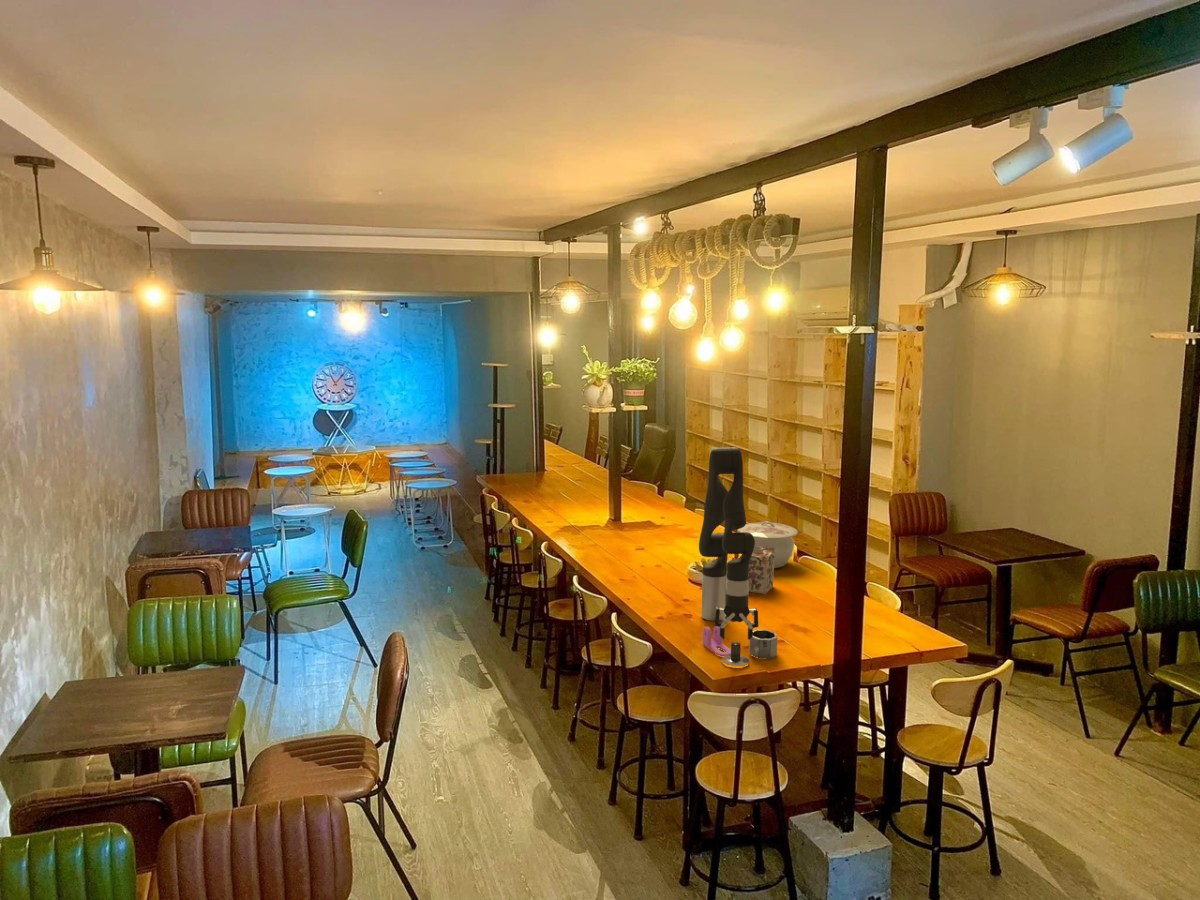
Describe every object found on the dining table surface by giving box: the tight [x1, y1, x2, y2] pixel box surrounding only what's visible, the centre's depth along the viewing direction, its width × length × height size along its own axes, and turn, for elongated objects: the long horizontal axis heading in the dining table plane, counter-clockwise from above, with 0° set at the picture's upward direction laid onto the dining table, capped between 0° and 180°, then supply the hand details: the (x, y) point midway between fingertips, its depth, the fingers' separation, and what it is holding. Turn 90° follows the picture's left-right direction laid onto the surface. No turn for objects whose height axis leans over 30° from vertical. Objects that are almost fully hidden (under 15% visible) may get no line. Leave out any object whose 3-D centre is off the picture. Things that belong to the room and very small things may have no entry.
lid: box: [721, 641, 750, 666], centre depth 277 cm, size 9×9×7 cm
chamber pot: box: [737, 520, 799, 569], centre depth 384 cm, size 28×28×21 cm
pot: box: [748, 629, 778, 660], centre depth 284 cm, size 13×9×7 cm
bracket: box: [702, 625, 731, 656], centre depth 287 cm, size 13×6×7 cm, turn 20°
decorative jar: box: [748, 547, 775, 595], centre depth 351 cm, size 12×12×18 cm
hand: (735, 638), depth 276 cm, fingers open, 8 cm apart
